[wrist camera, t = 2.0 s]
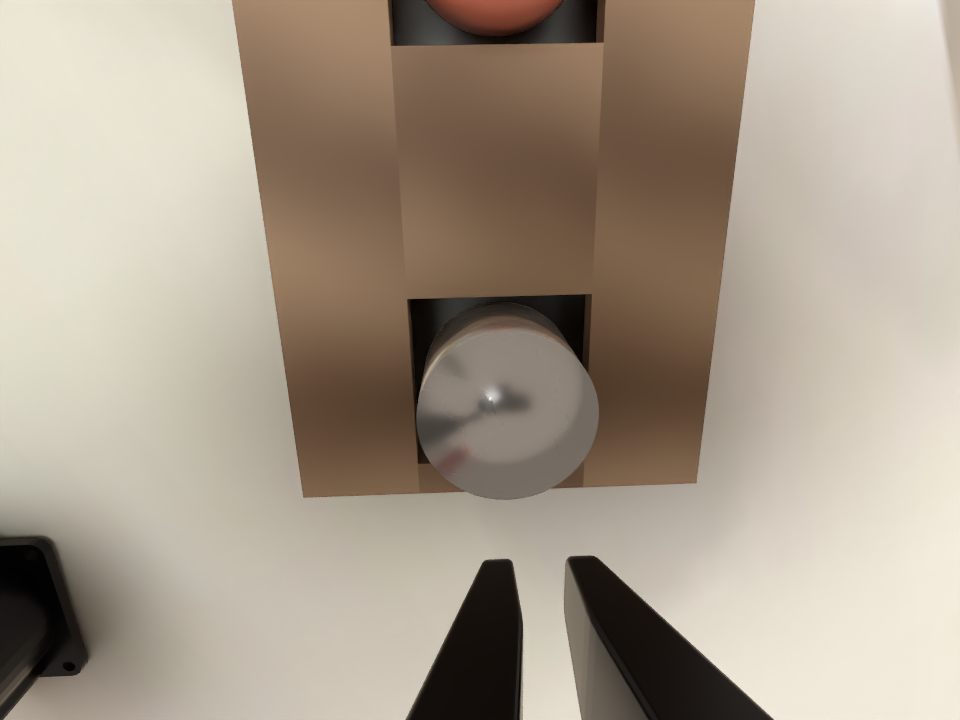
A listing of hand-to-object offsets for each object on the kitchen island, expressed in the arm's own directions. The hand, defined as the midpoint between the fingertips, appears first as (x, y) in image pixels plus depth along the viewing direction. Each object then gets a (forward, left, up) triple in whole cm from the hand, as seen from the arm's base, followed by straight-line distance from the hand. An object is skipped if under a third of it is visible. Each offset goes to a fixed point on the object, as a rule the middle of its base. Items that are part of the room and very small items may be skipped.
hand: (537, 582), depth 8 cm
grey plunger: (0, 0, -9) cm, 9 cm away
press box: (+6, 0, -12) cm, 13 cm away
